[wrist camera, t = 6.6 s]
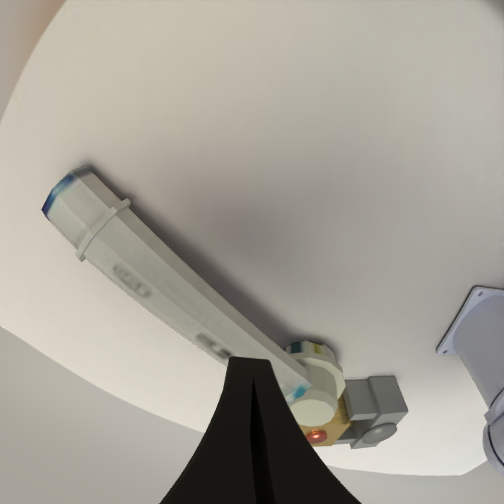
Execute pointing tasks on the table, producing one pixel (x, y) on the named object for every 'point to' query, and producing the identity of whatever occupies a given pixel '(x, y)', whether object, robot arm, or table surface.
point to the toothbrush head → (185, 294)
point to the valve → (329, 427)
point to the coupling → (372, 410)
